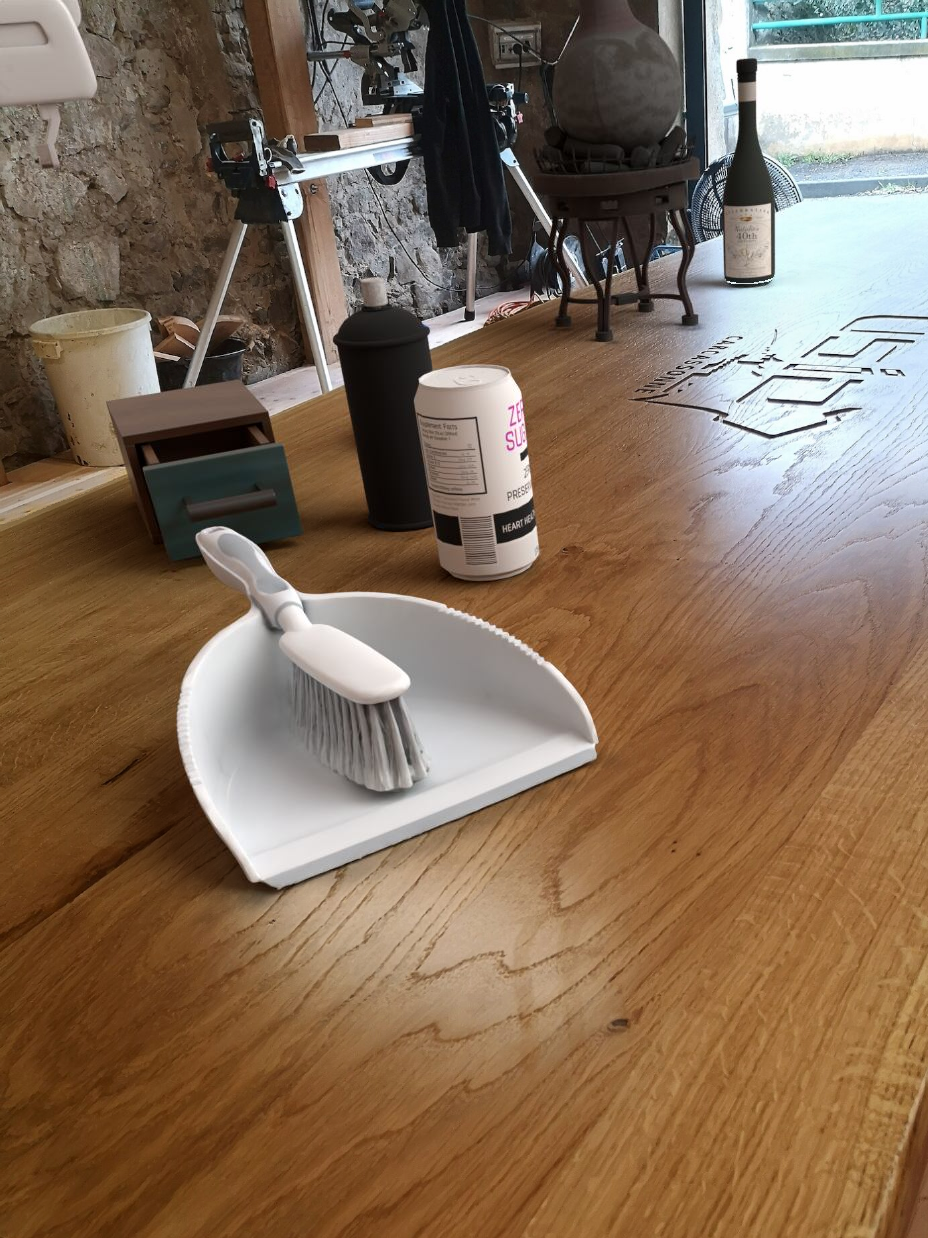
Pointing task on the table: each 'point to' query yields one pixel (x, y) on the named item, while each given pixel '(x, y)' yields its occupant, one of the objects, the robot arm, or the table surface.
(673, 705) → the table surface
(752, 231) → the wine bottle
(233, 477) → the drawer
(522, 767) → the dustpan and brush
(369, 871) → the table surface
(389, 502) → the aerosol can
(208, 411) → the cabinet
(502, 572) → the supplement can
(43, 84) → the robot arm
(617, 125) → the brazier
